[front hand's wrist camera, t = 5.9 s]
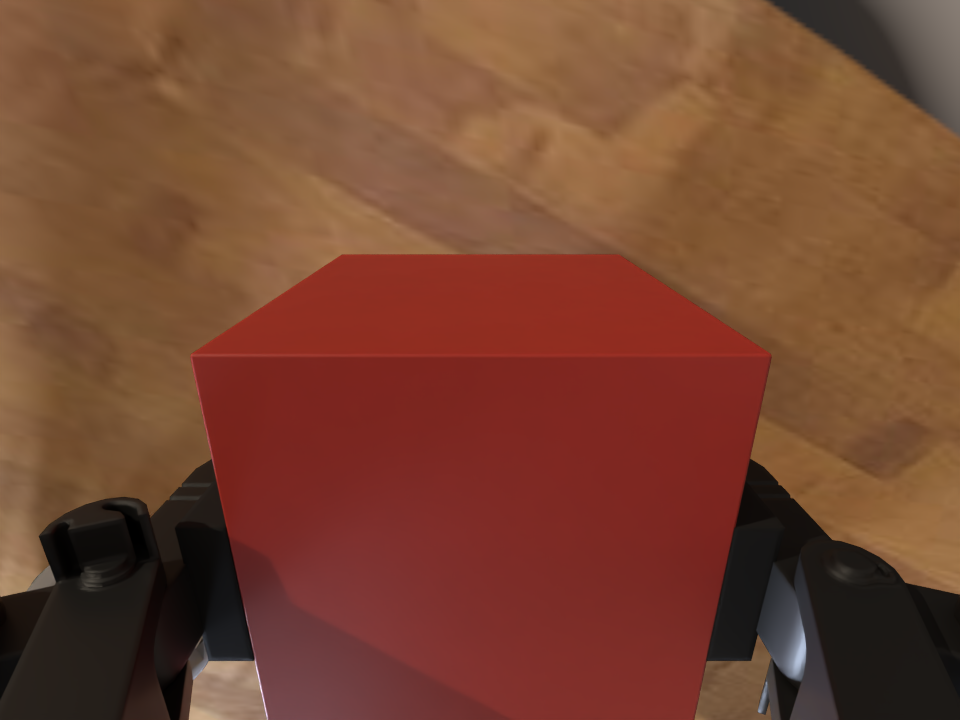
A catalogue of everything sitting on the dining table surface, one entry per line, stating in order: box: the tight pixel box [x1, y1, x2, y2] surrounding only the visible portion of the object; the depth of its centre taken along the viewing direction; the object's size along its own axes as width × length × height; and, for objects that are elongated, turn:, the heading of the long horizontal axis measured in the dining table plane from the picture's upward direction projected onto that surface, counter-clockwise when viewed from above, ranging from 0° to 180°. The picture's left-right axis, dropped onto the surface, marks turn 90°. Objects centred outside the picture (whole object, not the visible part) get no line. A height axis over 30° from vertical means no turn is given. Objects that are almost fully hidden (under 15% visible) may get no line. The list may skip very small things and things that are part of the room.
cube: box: [190, 255, 772, 720], centre depth 12 cm, size 8×8×8 cm
